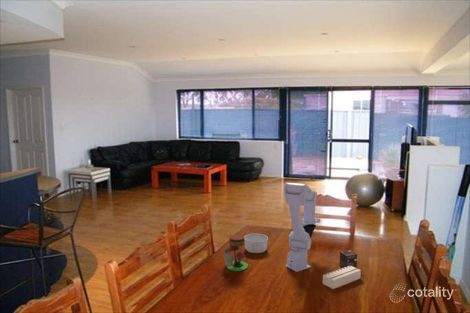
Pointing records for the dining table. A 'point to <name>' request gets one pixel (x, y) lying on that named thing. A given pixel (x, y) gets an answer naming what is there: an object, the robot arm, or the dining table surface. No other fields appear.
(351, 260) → the box
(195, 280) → the dining table surface
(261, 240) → the ramekin
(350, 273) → the striped peg rail
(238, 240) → the plant terrarium
